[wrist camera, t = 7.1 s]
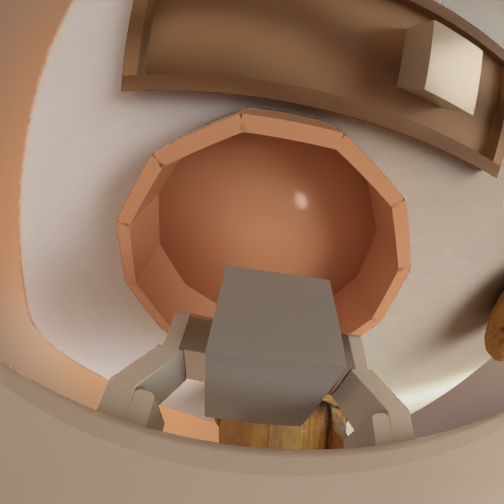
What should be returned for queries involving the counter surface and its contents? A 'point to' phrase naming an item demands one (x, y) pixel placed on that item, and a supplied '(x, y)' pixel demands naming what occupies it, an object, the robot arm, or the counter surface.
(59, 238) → the counter surface
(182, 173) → the bowl
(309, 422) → the tankard
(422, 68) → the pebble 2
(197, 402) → the counter surface
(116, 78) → the counter surface
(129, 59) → the parts tray
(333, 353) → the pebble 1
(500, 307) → the potato
